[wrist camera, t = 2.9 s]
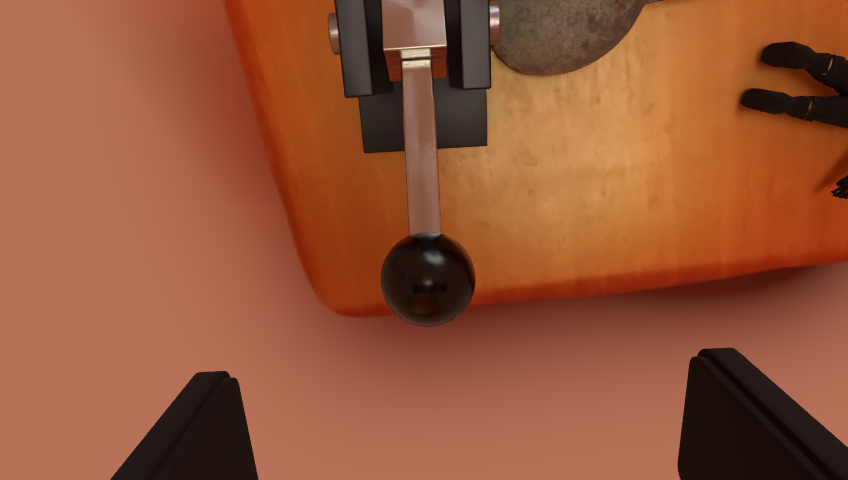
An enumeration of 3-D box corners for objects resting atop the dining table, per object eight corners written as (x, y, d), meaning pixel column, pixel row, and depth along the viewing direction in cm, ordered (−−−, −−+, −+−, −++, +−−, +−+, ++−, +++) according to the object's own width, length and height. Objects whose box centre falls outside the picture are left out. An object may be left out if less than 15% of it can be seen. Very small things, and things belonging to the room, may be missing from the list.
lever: (475, 321, 18) (482, 326, 15) (388, 326, 18) (376, 331, 15) (455, 15, 19) (458, -41, 16) (375, 20, 20) (362, -35, 16)
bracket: (485, 143, 29) (521, 183, 18) (366, 150, 29) (327, 194, 18) (480, -72, 25) (521, -192, 14) (345, -62, 26) (281, -173, 14)
